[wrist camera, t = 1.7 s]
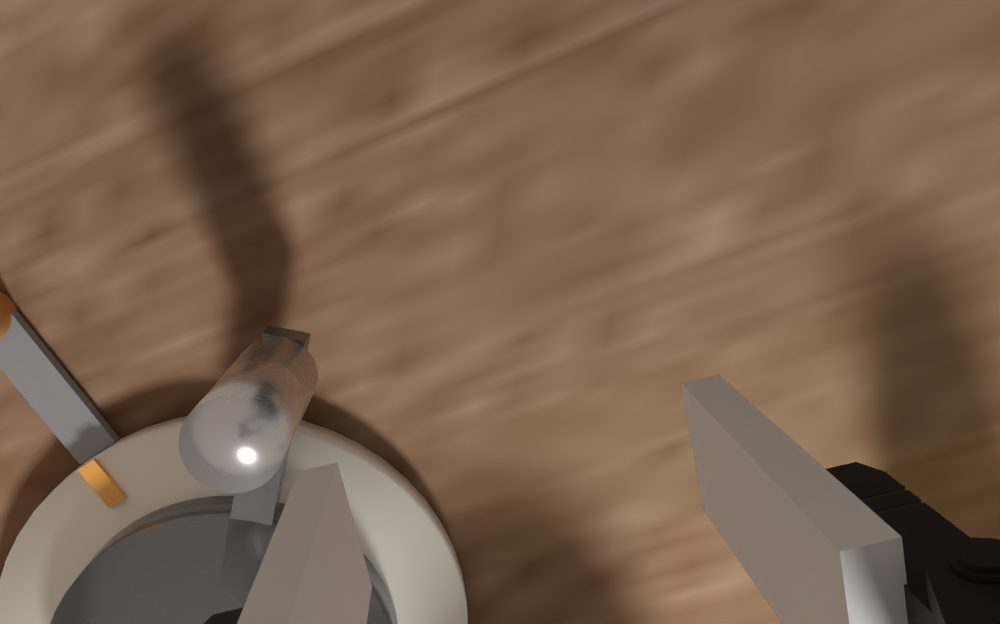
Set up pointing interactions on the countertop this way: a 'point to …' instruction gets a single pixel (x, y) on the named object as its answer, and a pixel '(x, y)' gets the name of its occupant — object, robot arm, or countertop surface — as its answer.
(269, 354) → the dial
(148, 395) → the countertop surface
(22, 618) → the stand
